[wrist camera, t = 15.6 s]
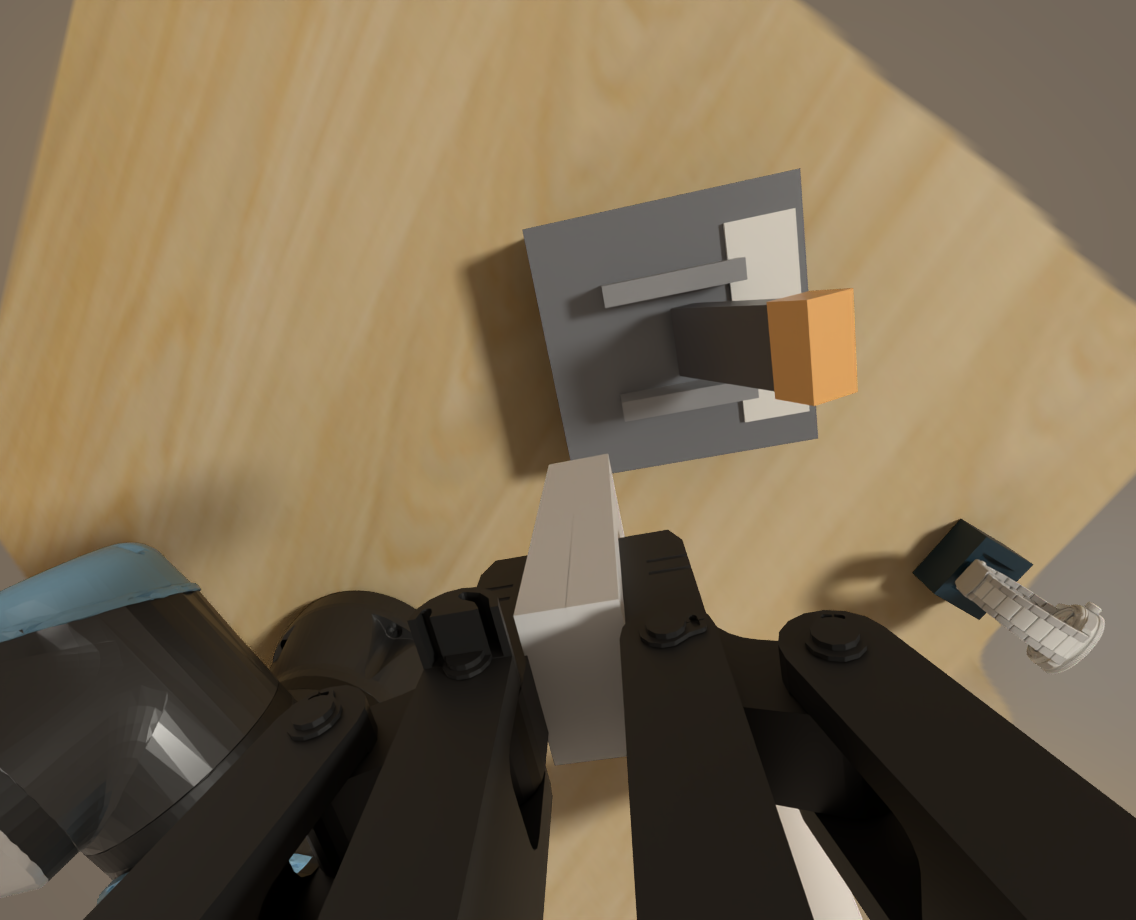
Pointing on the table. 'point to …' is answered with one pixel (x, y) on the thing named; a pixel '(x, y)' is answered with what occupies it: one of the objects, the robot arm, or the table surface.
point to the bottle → (817, 871)
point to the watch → (1008, 597)
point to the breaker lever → (772, 344)
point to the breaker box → (665, 319)
